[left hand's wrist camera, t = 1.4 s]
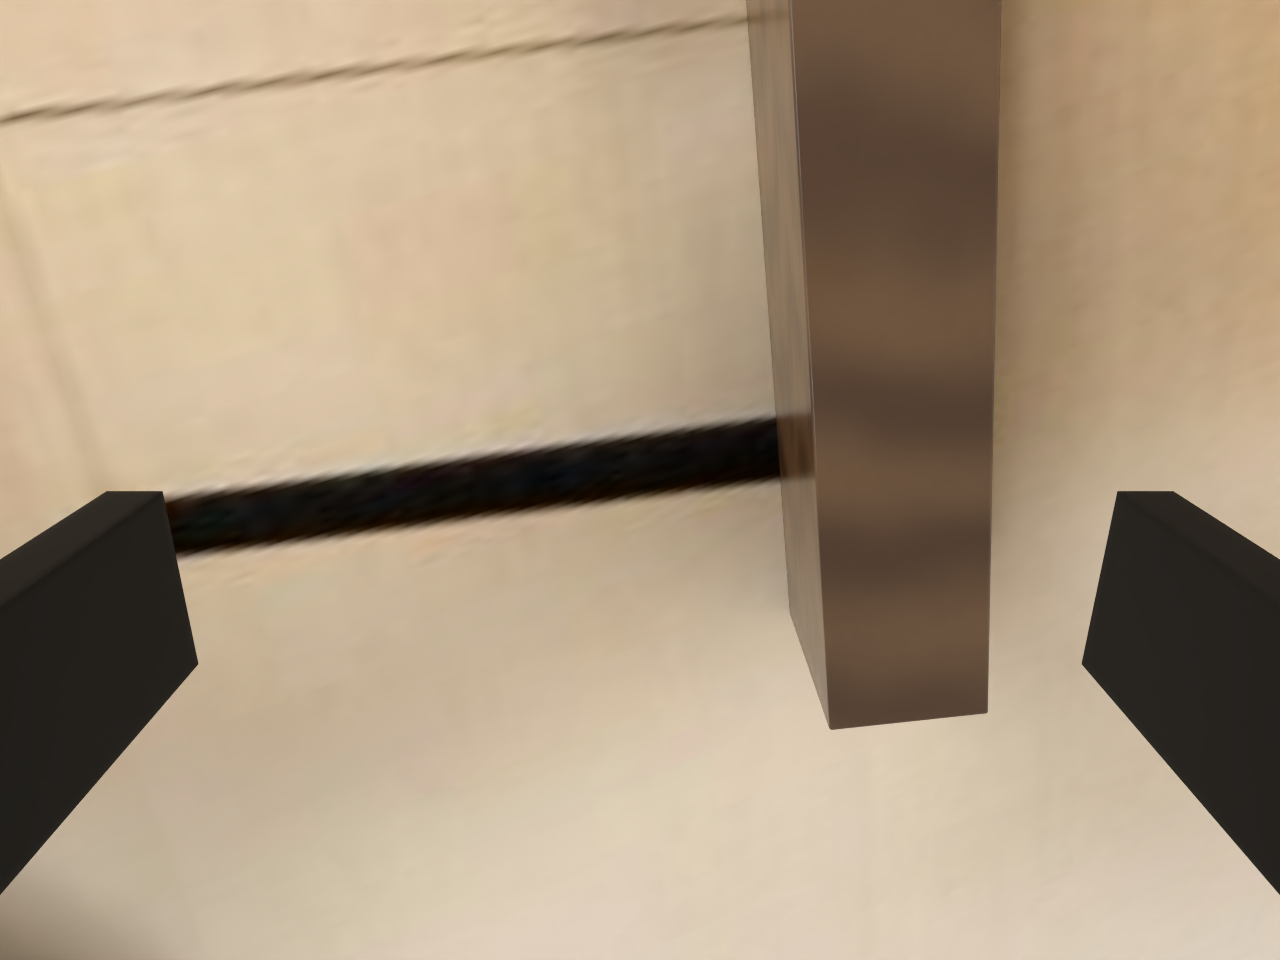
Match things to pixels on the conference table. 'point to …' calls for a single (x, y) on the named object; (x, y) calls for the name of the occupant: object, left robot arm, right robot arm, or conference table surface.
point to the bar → (883, 339)
